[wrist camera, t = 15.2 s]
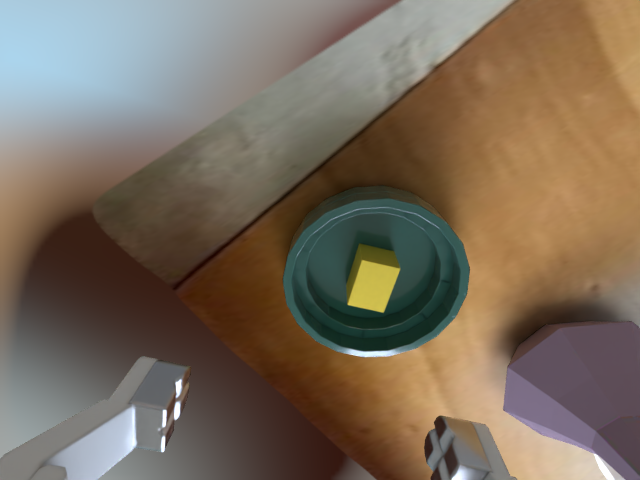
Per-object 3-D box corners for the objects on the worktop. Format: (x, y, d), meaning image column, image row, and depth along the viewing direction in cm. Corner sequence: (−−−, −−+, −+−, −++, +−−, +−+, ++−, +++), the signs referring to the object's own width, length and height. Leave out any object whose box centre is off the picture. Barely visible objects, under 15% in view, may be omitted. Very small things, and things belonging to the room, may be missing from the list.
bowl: (308, 165, 30) (304, 178, 26) (480, 207, 32) (502, 224, 27) (276, 310, 37) (269, 338, 33) (418, 340, 38) (429, 371, 34)
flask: (461, 331, 38) (580, 561, 19) (618, 267, 34) (954, 481, 15) (508, 420, 43) (636, 662, 25) (648, 374, 39) (921, 623, 21)
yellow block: (359, 243, 33) (361, 259, 30) (394, 251, 33) (400, 268, 30) (346, 285, 35) (347, 305, 32) (379, 292, 35) (383, 312, 32)
